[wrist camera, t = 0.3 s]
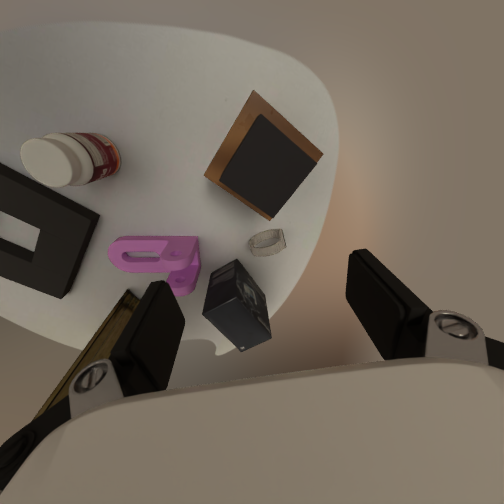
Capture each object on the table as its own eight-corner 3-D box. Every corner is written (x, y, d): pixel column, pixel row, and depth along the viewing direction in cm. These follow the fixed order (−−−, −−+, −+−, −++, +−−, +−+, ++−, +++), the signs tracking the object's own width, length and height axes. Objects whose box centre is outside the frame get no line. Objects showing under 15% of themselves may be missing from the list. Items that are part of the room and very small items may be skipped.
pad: (256, 116, 18) (260, 113, 14) (303, 157, 19) (317, 163, 16) (222, 172, 20) (218, 180, 16) (267, 204, 21) (273, 218, 18)
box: (266, 294, 38) (273, 339, 30) (240, 307, 39) (240, 354, 31) (237, 256, 34) (236, 297, 25) (209, 272, 35) (199, 316, 27)
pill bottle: (97, 180, 27) (44, 198, 20) (70, 140, 25) (-1, 144, 18) (130, 168, 27) (88, 182, 19) (105, 126, 24) (48, 124, 17)
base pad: (-50, 136, 24) (-73, 136, 22) (100, 215, 29) (91, 220, 28) (-55, 242, 30) (-73, 248, 29) (69, 291, 36) (61, 299, 34)
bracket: (197, 236, 32) (187, 260, 26) (201, 267, 34) (192, 296, 28) (107, 235, 31) (75, 261, 25) (118, 267, 34) (92, 297, 28)
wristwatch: (283, 237, 32) (290, 254, 28) (252, 247, 33) (254, 264, 29) (279, 221, 31) (285, 235, 27) (246, 231, 32) (247, 247, 27)
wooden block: (249, 101, 24) (253, 89, 17) (302, 148, 26) (324, 154, 19) (213, 164, 27) (203, 175, 20) (263, 200, 29) (270, 221, 22)
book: (119, 348, 43) (-3, 566, 22) (92, 337, 41) (-72, 564, 20) (159, 300, 37) (46, 533, 16) (129, 285, 36) (-46, 527, 14)
